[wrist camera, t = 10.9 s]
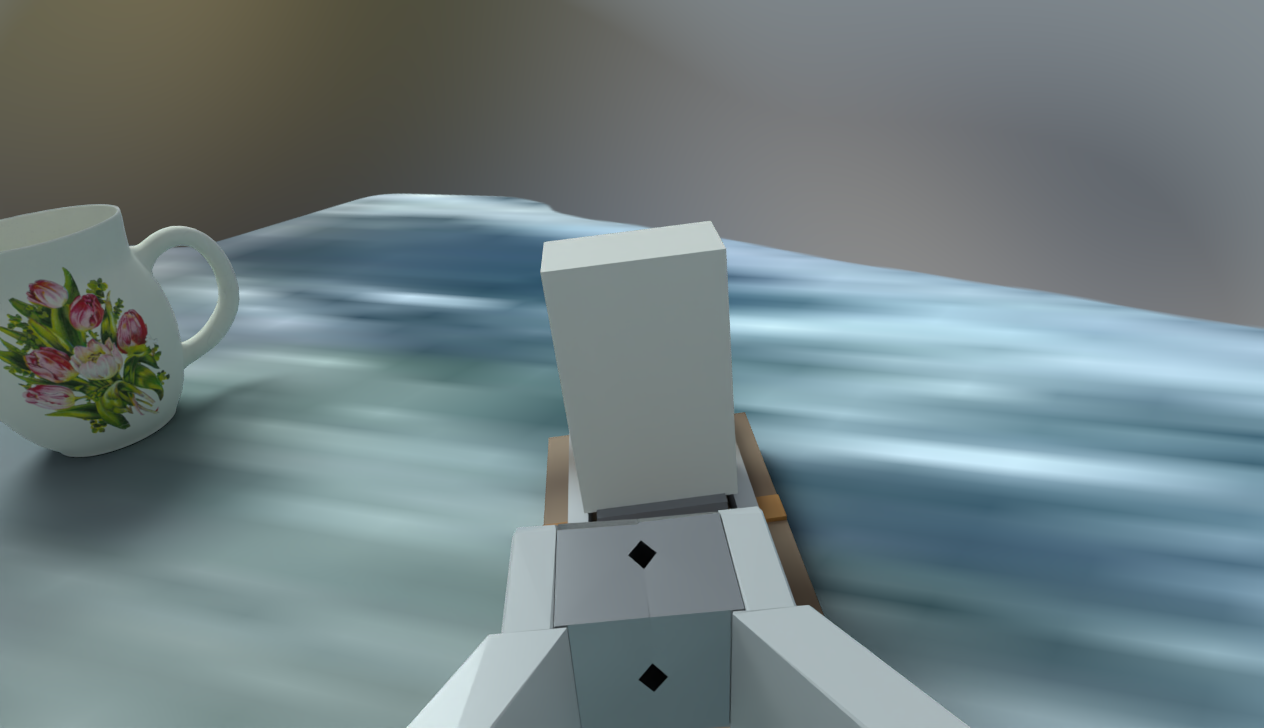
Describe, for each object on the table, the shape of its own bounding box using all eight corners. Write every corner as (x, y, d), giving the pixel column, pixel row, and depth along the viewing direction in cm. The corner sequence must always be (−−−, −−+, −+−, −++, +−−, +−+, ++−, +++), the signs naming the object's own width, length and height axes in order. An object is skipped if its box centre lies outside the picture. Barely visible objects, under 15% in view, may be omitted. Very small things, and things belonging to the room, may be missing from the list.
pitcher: (304, 380, 49) (228, 182, 43) (-15, 530, 38) (-184, 291, 31) (238, 344, 56) (164, 168, 50) (-50, 462, 45) (-194, 254, 38)
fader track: (990, 1113, 15) (1015, 1042, 14) (525, 1178, 15) (490, 1115, 14) (746, 444, 37) (743, 385, 36) (555, 469, 37) (543, 411, 35)
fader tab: (742, 539, 28) (728, 253, 23) (591, 559, 28) (539, 278, 23) (723, 477, 32) (708, 216, 26) (589, 494, 32) (544, 237, 26)
